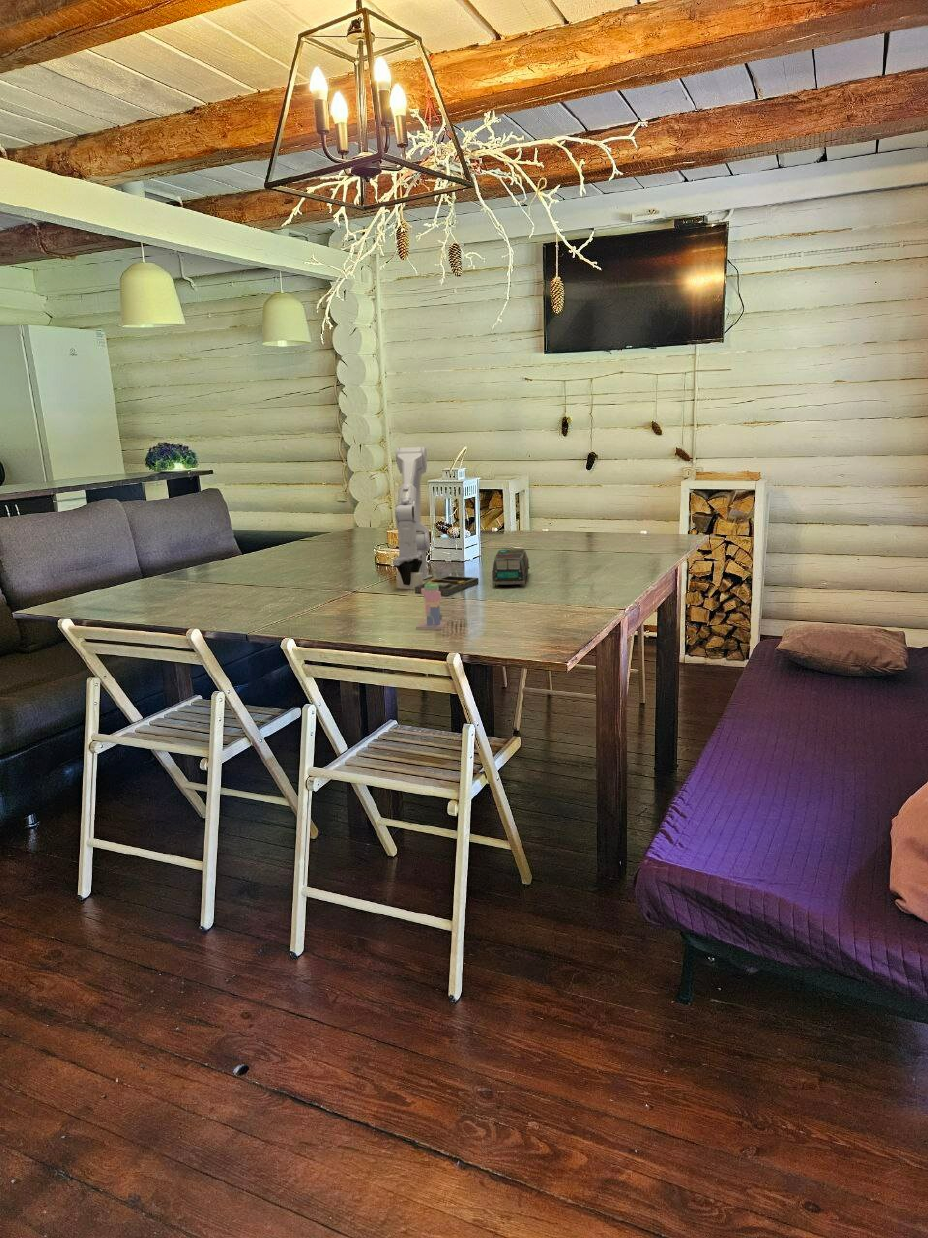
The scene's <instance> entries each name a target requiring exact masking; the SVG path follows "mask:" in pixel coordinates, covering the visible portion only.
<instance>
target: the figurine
mask: <svg viewBox="0 0 928 1238" xmlns="http://www.w3.org/2000/svg"><path fill="white" fill-rule="evenodd" d="M427 582H428V583H427ZM427 582H426V583H427V584H426V585H425V586H424V588H422V589H421V595H424V603H425V604H424V605H425V617H426V621H420V622H419V623H418V624H417V625H416V626H415V630H439V631H440V630H443V629H444V628H445V627H446V625H448V623H447V622H448V621H442V620H443V614H442V613H441V606H440V600H441V599H442V596H441V591H439V585H438V584H431V581H429V580H428V581H427Z"/></svg>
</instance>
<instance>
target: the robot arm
mask: <svg viewBox="0 0 928 1238" xmlns="http://www.w3.org/2000/svg"><path fill="white" fill-rule="evenodd" d="M427 456H428V455H427V448H426V447H425V445H422V446H406V447H405V446H404V447H400V446H398V447H397V448H396V449H395V462H396V465H397V469H398V471H399V473H400V474H401V475H402V477H401V478H402V485H400V486H399V488H398V494H397V506H395V507H394V518H395V522H396V524H395V525H396V529H397V539H398V553H399V554H398V556H397V557H395V558H392V565H393V566H395V568H396V569H397V571H398V572H399V573H400V575H401V577H402V581H403V584H404V585H410V582H411V572H418V573H422V575H423V581H424V580H426V579H430V578H432V577H433V574H432V575H431V574H428V566H427V565H428V562H427V552H428V551H430V548H431V537H430V530H429V528H428V527H427V526H426V525H425V524H423V523H422V510H421V509H422V507H421V504H422V501H421V500H422V499H421V496H422V495H421V494H422V493H421V480H422V475H423V474H424V475H425V473H427V468H428V460H427V459H428V457H427ZM398 572H397V573H398Z"/></svg>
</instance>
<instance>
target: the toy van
mask: <svg viewBox="0 0 928 1238" xmlns="http://www.w3.org/2000/svg"><path fill="white" fill-rule="evenodd" d="M526 552H527V551H526V550H525V549H519V548H509V549H507V548H506V549H505V548H504V549H501V550H500V549H499V550H498V551H497V553H496V554H495V557H494V559H493V563H492V564H493V565H492V573H491V575H492V582H491V583H492V585H494V587H497V588H498V587H499V585H500V586H501V585H502V586H503V585H506V586H507V585H509V586H510V585H519V586H520V587H525V585H526V579H527V577H529V569H530V563H529V558H528V555H527V553H526Z"/></svg>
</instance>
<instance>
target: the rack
mask: <svg viewBox="0 0 928 1238" xmlns="http://www.w3.org/2000/svg"><path fill="white" fill-rule="evenodd" d="M429 581H431V584H438V585H439V591H441V597H444V596H445V597H449V596H451V595H454V594H456V593H459V592H462V591H465V590H467V589H469V588H471V587H474V586H478V585H479V584H480V582H479V577H473V576H471V577H470V576H457V575H445V576H442V577H439V578H431V579H429V580H428V581H427V582H423V584H422V585H419V586H416V587H415V590H414V594H418V595H420V594H421V589H422V588H424V586H425V585H426V584H427V583H428V582H429ZM421 595H422V594H421Z"/></svg>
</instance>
